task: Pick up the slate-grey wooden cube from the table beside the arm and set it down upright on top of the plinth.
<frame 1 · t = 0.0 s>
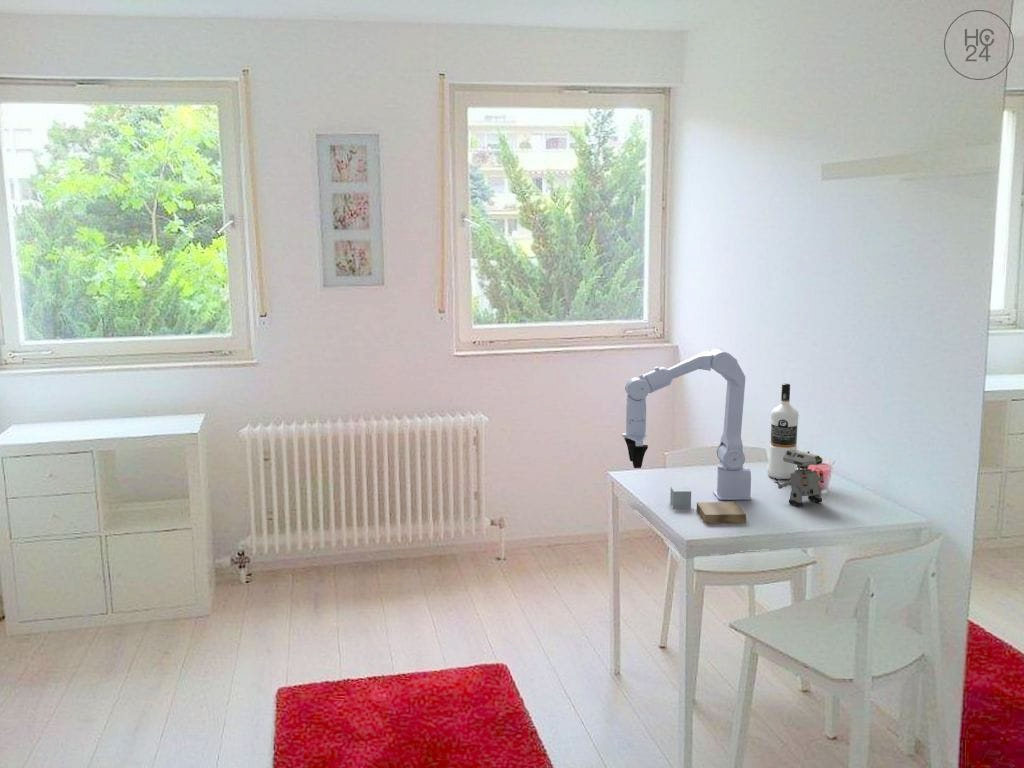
hand: (635, 464, 271), 10 cm above the table, tool pointing down, fingers open, 7 cm apart
figurine: (799, 502, 267), on the table
vodka: (782, 476, 294), on the table
plinth: (720, 516, 254), on the table
block: (680, 505, 265), on the table
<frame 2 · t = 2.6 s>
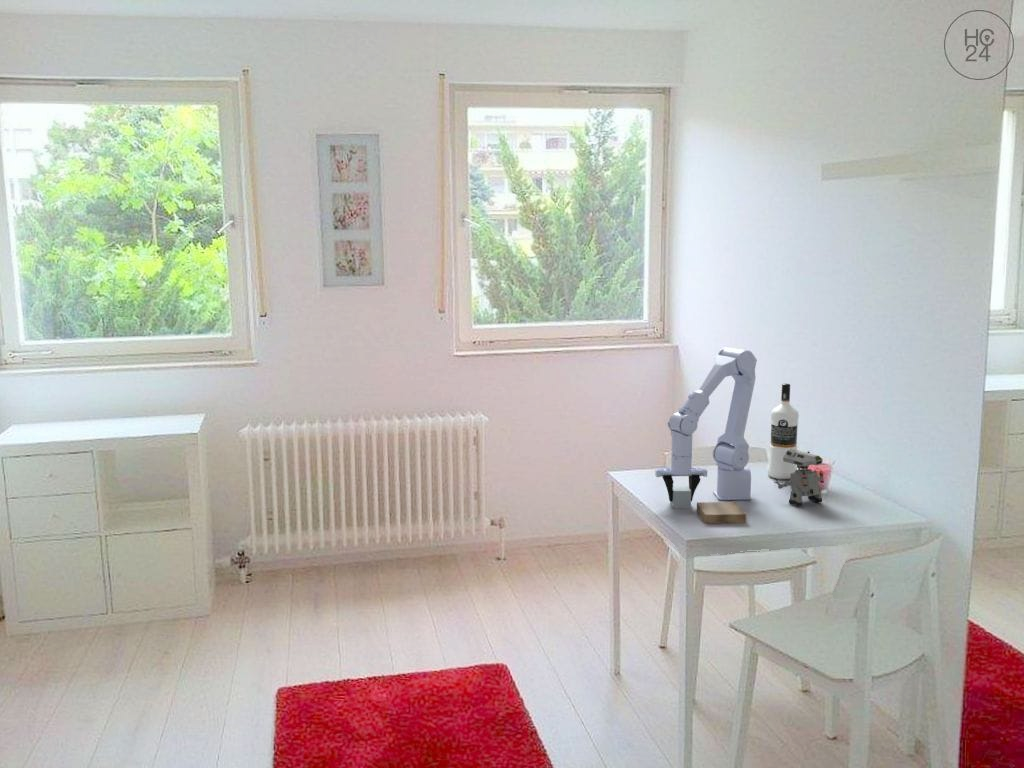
hand: (680, 500, 265), 1 cm above the table, tool pointing down, fingers closed on block, 5 cm apart
block: (680, 505, 265), on the table, touching gripper
everything else where it was.
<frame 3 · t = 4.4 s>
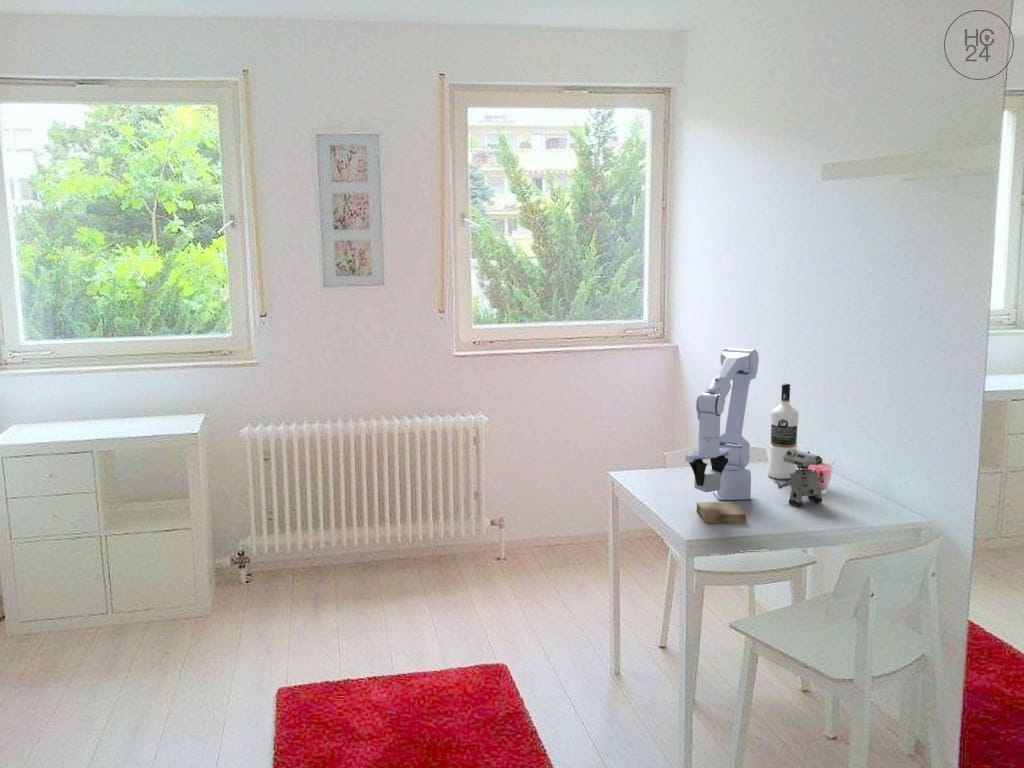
hand: (707, 483, 256), 8 cm above the table, tool pointing down, fingers closed on block, 5 cm apart
block: (707, 488, 257), point 7 cm above the table, touching gripper
everything else where it was.
when the fingers open (5 cm above the table, at t = 6.3 s): block stays where it is, resting on plinth.
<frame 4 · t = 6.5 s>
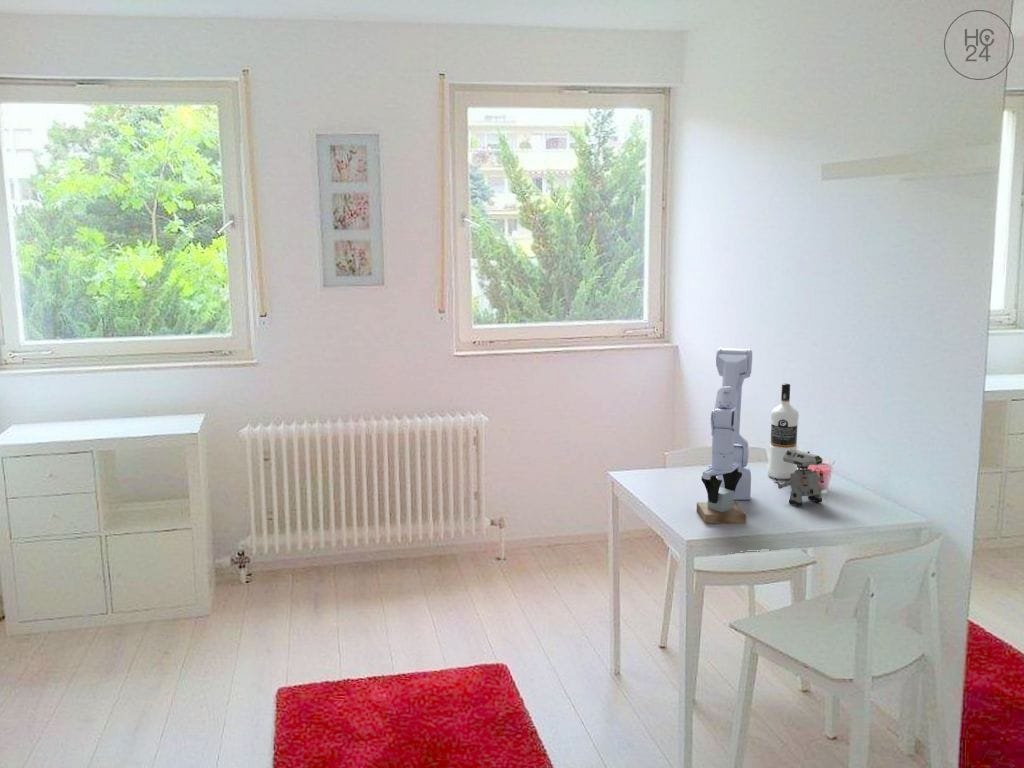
hand: (721, 499, 254), 5 cm above the table, tool pointing down, fingers open, 7 cm apart
block: (720, 508, 254), point 2 cm above the table, touching plinth
everything else where it was.
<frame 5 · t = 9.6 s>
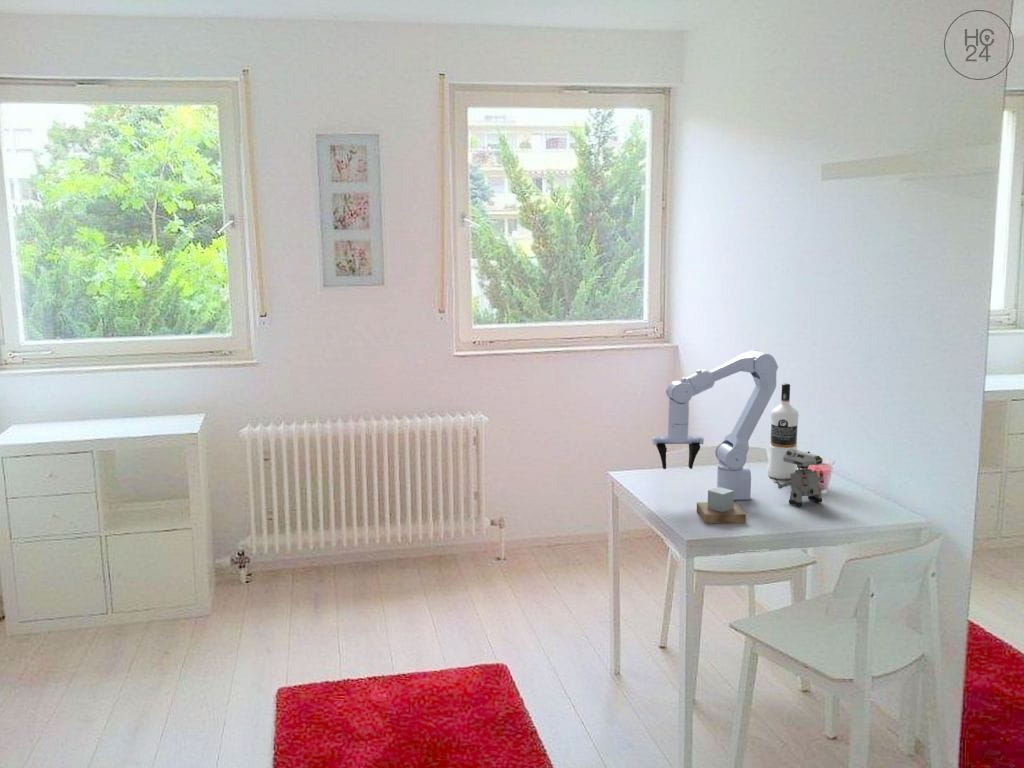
hand: (677, 468, 269), 9 cm above the table, tool pointing down, fingers open, 7 cm apart
nothing on the table moved.
at the end: block inside the target area on the plinth (0.1 cm from its centre), point 2.5 cm above the plinth's base; block tilted 0°; the gripper is holding nothing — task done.
